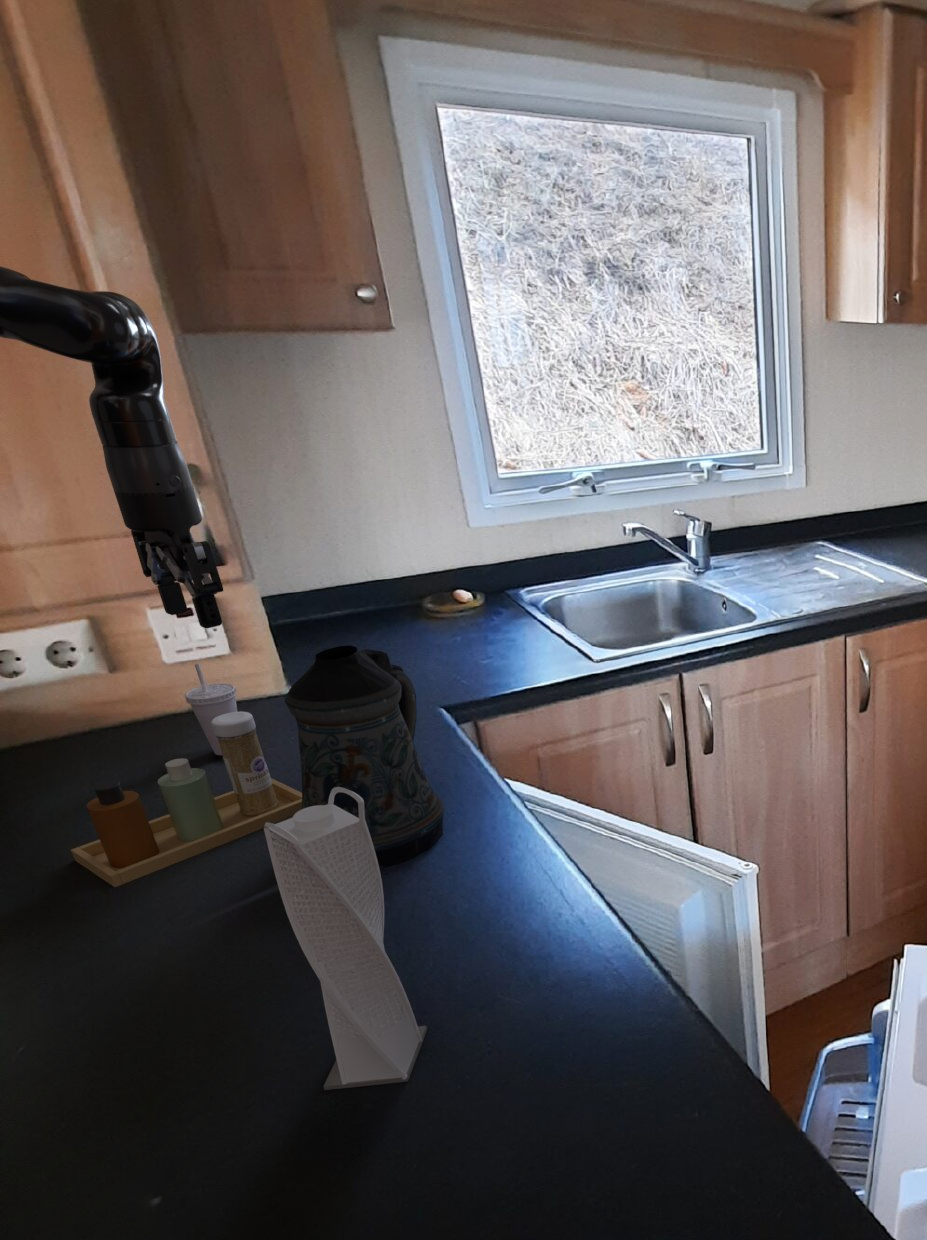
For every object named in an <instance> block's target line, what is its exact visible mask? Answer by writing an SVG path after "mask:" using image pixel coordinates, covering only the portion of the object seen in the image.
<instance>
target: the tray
mask: <svg viewBox="0 0 927 1240" xmlns="http://www.w3.org/2000/svg"><path fill="white" fill-rule="evenodd" d="M271 781H272V787H273V790H274V793H275V796H276V799H277V800H278V807H277V808H276V809H274V810H272V811H269V812H266V813H264V814H261V815H257V816H247V815H243V814H242V813H241V812H240V806H239V803H238V800H237V797H236V794H235V792H234V790H231V791H229V792H226V793H224V794H221V795H218V796H214V799H215V802H216V805H217V808H218V811H219V814H220V817H221V820H222V823H223V826H224V828H223V830H220V831H218V832H215V833H213V834H210V835H207V836H205V837H202V838H200V839H197V840H195V841H192V842H184V841H180V840H179V839H178V838H177V835H176V832H175V829H174V827H173V824H172V821H171V818H170V816H169V813H168V814H165V815H162V816H159V817H157V818H154V819H152V820H148V822H149V824H150V827H151V830H152V832H153V835H154V838H155V840H156V843H157V846H158V848H159V854H158V855H156V856H153V857H151V858H148V859H146V860H143V861H141V862H138V863H135V864H133V865H130V866H128V867H125V868H115V867H112V866H111V865H110V863H109V861H108V858H107V856H106V853H105V851H104V849H103V846H102V844H101V841H100V839H96V840H93V841H91V842H88V843H86V844H83V845H80V846H77V847H75V848H71V849H70V852H71V853H72V856H73V859H74V861H75V862H77V863H78V864H79V865H81V866H83V867H84V868H86V869H87V870H88V871H90V872H92V873H93V874H94V875H96V876H97V877H99V878H100V879H102V880H103V881H105V882H106V883H108V884H109V885H111V886H112V887H113V888H117V887H120V886H122V885H125V884H127V883H130V882H132V881H135V880H138V879H140V878H142V877H144V876H148V875H150V874H152V873H154V872H158V871H160V870H162V869H165V868H168V867H169V866H172V865H175V864H177V863H180V862H182V861H185V860H188V859H189V858H193V857H195V856H197V855H200V854H202V853H204V852H208V851H209V850H212V849H215V848H217V847H220V846H222V845H224V844H227V843H230V842H233V841H234V840H238V839H240V838H242V837H245V836H247V835H249V834H252V833H255V832H257V831H260V830H262V829H264V825H265V823H266V822H269V823H272V824H277V823H280V822H282V821H285V820H288V819H290V818H293V816H294V814H295V813H297V812H298V811H300V810H301V809H302V791H299V790H297V789H295V788H293V787H291V786H288V785H287V784H284V783H282V782H280V781H278V780H276V779H274V778H272V777H271Z"/></svg>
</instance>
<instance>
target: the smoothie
mask: <svg viewBox="0 0 927 1240" xmlns="http://www.w3.org/2000/svg"><path fill="white" fill-rule="evenodd" d="M194 667H195V671H196V673H197V677H198V680H199V683H200V685H199V686H197V687H195V688H192V689H190V690H188V691H187V692H186V693H184V698H185V702H186V703H187V704H188V705H190V707H191V709H192V711H193V713H194V715H195V717H196V719H197V721H198V723H199V725H200V727H201V729H202V731H203V733H204V735H205V737H206V739H207V741H208V743H209V745H210V747H211V749H212V751H213V753H214V754H215V755H217V756H223V754H222V751H221V748H220V744H219V741H218V739H217V738H216V735H215V734H214V731H213V728H212V724H211V721H212V720H213V719H214V718H216V717H217V716H220V715H223V714H226V713H231V712H238V704H237V699H236V696H237V694H238V691H237V690H236V687H235V685H233V684H231V683H210V684H206V681H205V678H204V675H203V672H202V668H201V665H200V663H195V664H194Z"/></svg>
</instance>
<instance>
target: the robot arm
mask: <svg viewBox="0 0 927 1240" xmlns="http://www.w3.org/2000/svg"><path fill="white" fill-rule="evenodd" d="M0 338H1V339H8V340H15V341H19V342H21V343H25V344H27V345H29V346H32V347H35V348H38V349H41V350H44V351H47V352H49V353H52V354H55V355H58V356H61V357H66V358H68V359H72V360H76V361H80V362H84V363H85V362H86V363H90V364H91V369H92V374H93V377H94V378H93V379H94V388H93V389H92V392H91V393H90V395H89V401H88V402H89V408H90V412H91V416H92V419H93V422H94V425H95V429H96V431H97V434H98V438H99V441H100V444H101V446H102V451H103V457H104V463H105V467H106V471H107V474H108V477H109V480H110V483H111V486H112V489H113V492H114V496H115V499H116V501H117V505H118V508H119V511H120V514H121V518H122V520H123V523H124V526H125V527H126V528H127V529H129V530H130V534H131V536H132V540H133V543H134V547H135V550H136V553H137V557H138V560H139V563H140V567H141V570H142V574H143V575H144V576H145V577H146V578H151V582H152V583H153V584H154V586H156V587H157V590H158V594H159V596H160V599H161V603H162V606H163V609H164V612H165V613H166V614H167V615H170V616H175V615H180V614H183V613H186V612H187V611H188V607H187V606H188V605H187V602H186V599H185V596H184V593H183V590H182V587H181V584H183V585H184V586H185V588H186V589H187V591H188V593H189V595H190V597H191V600H192V604H193V607H194V610H195V614H196V618H197V620H198V624H199V626H200V627H201V628H204V629H211V628H215V627H220V626H221V625H222V624H223V619H222V615H221V613H220V609H219V606H218V602H217V599H216V596H215V595H218V594H219V593H222V592H224V586H223V582H222V580H221V576H220V573H219V570H218V567H217V564H216V560H215V558H214V555H213V552H212V551H213V550H212V549H211V545H210V543H209V541H207V540H203V541H196V540H195V539H194V537H193V534H192V532H191V528H192V527H193V526H194V527H195V526H198V525H200V524H201V523H202V521H203V516H202V511H201V510H200V506H199V501H198V498H197V495H196V491H195V488H194V485H193V480H192V478H191V474H190V471H189V467H188V463H187V462H186V459H185V457H184V454H183V452H182V450H181V448H180V445H179V442H178V439H177V436H176V432H175V429H174V426H173V422H172V419H171V414H170V412H169V409H168V406H167V403H166V400H165V390H164V389H165V387H164V376H163V375H164V374H163V367H162V357H161V351H160V345H159V341H158V337H157V335H156V332H155V329H154V326H153V324H152V322H151V320H150V319H149V317H148V315H147V313H146V312H145V311H144V310H143V308H141V306H140V305H138V304H137V302H135V301H134V300H133V299H131V298H129V297H128V296H125V295H123V294H121V293H118V292H114V291H107V290H97V291H95V290H93V291H85V290H78V289H75V288H74V289H73V288H68V287H63V286H60V285H55V284H51V283H47V282H43V281H39V280H35V279H32V278H30V277H28V276H27V275H25V274H24V273H22V272H20V271H17V270H14V269H11V268H9V267H5V266H1V265H0Z"/></svg>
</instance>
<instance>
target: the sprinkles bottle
mask: <svg viewBox="0 0 927 1240" xmlns="http://www.w3.org/2000/svg"><path fill="white" fill-rule="evenodd" d="M255 722H256V721H255V719H254V716H253V715H252V714H251V712H248V711H237V712H231V713H226V714H223V715H220V716H217V717H216V718H214V719H213V720H212V721H211V724H212V728H213V731H214V734H215V735H216V738H217V739H218V741H219V744H220V748H221V751H222V754H223V755H222V759H223V763H224V766H225V768H226V772H227V774H228V778H229V782H230V784H231V786H232V791H234V792H235V794H236V797H237V800H238V803H239V806H240V812H241V813H242V814H243V815H247V816H257V815H261V814H264V813H266V812H269V811H272V810H274V809H276V808H277V807H278V800H277V799H276V796H275V793H274V790H273V787H272V781H271V778H272V777H271V774H270V771H269V768H268V765H267V762H266V760H265V757H264V756H265V755H264V754H263V750H262V747H261V744H260V741H259V738H258V734H257V728H256V727H257V726H256V723H255Z"/></svg>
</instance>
